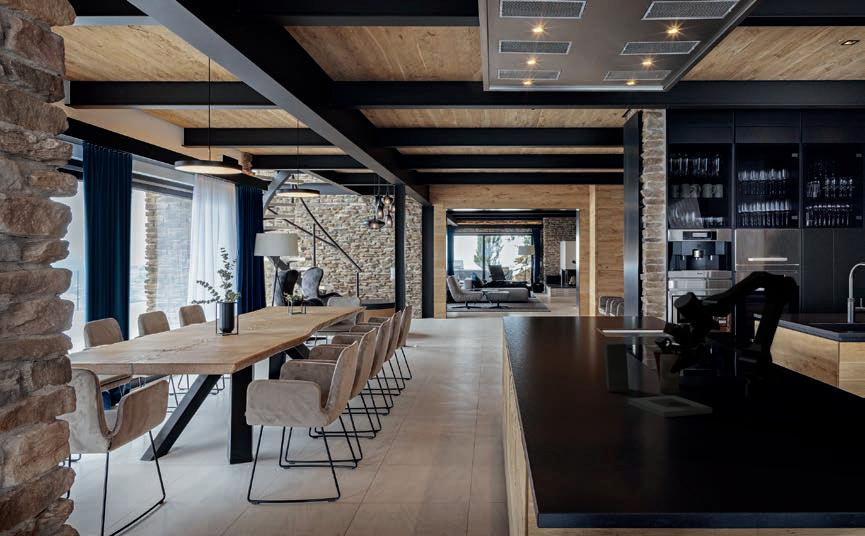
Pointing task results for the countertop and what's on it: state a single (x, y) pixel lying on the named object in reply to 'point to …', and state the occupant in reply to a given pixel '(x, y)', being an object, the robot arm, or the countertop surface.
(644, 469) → the countertop surface
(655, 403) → the sage board
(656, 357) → the plastic cup
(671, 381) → the ash sleeve
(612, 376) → the skincare box
